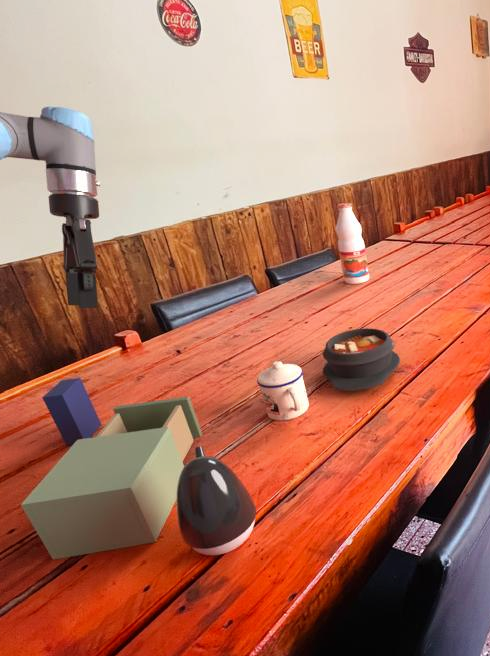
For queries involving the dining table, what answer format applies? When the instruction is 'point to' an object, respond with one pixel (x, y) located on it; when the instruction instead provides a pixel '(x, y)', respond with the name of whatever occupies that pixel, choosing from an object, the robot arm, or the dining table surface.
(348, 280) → the fruit juice
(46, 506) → the cabinet
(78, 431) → the rectangular block
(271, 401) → the teacup with lid
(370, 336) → the casserole
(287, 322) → the dining table surface
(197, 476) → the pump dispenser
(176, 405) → the drawer
